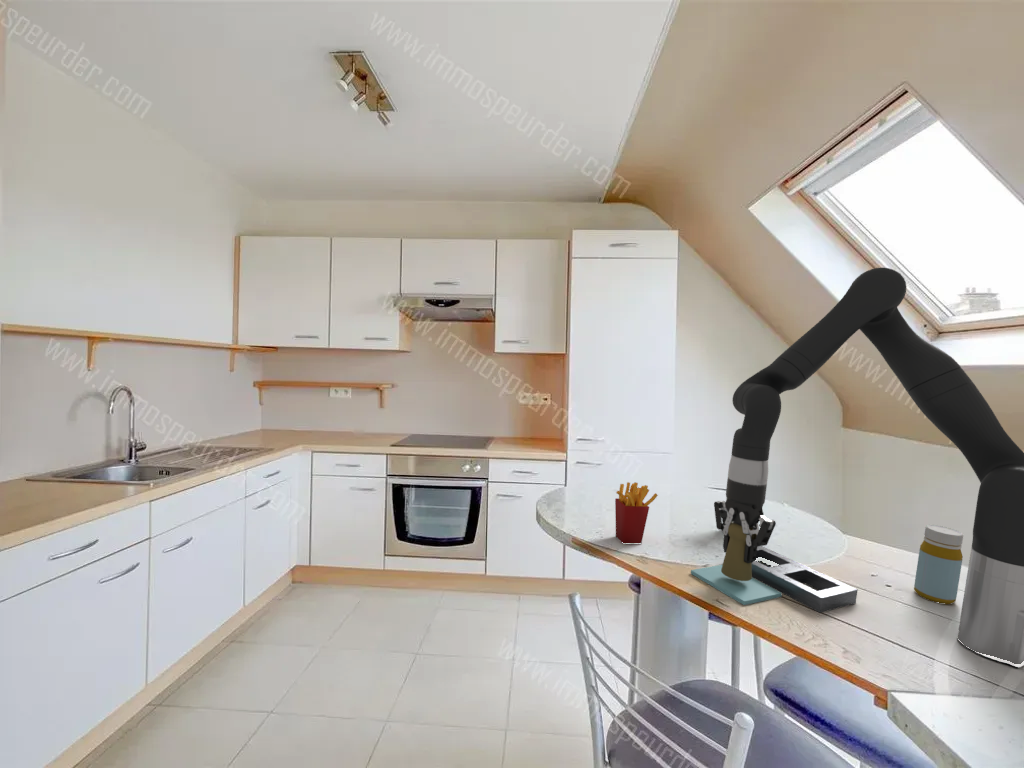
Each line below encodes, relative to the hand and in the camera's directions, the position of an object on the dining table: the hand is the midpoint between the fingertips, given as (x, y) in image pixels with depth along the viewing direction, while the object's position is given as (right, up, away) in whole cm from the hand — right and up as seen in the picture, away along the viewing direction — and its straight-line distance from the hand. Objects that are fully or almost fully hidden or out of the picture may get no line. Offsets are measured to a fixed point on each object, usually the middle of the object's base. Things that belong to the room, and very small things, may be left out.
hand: (738, 556), depth 107 cm
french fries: (-18, -3, +22) cm, 28 cm away
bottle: (+43, -10, +2) cm, 44 cm away
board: (-1, -6, +1) cm, 6 cm away
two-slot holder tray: (+12, -7, +4) cm, 15 cm away
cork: (0, -4, 0) cm, 4 cm away
